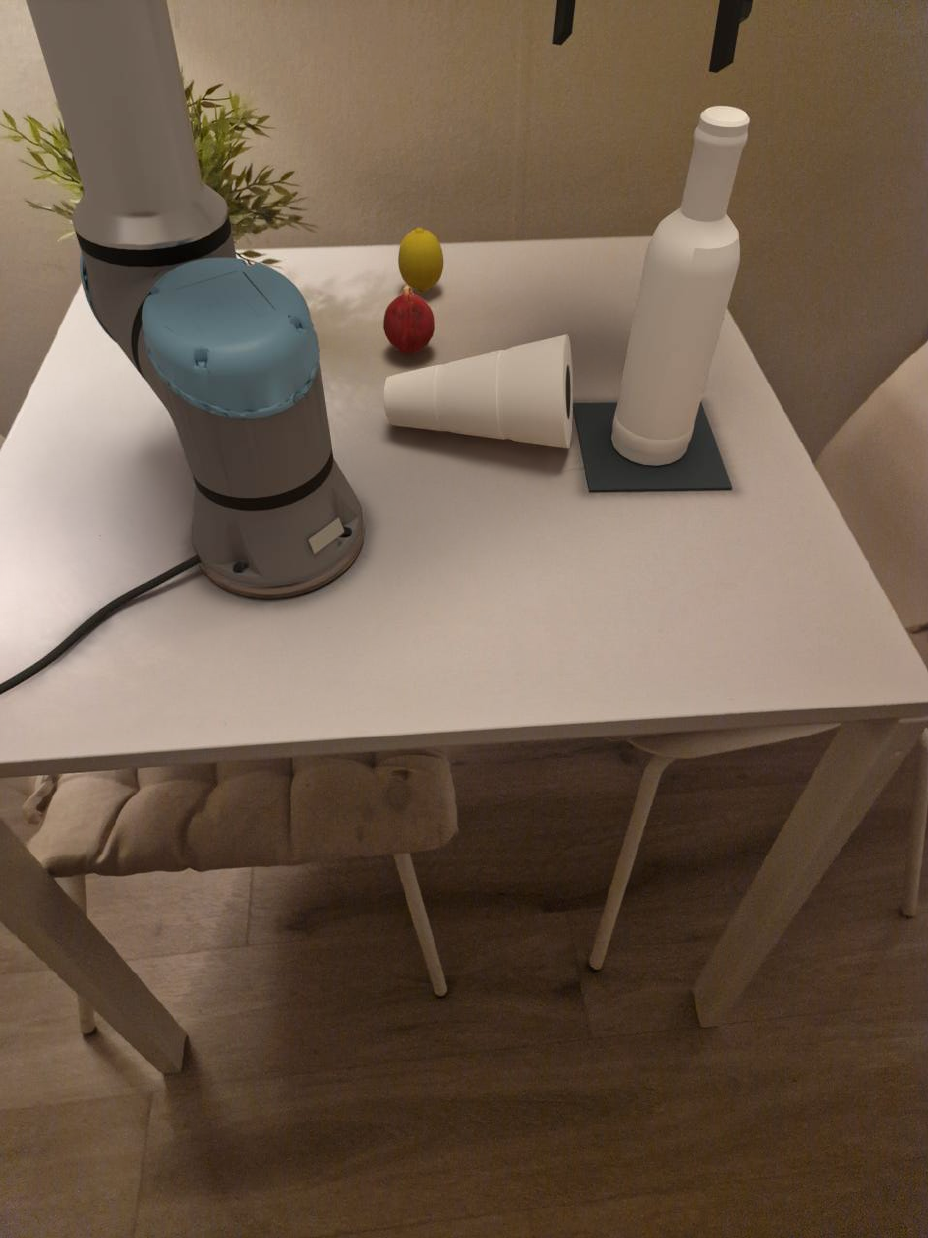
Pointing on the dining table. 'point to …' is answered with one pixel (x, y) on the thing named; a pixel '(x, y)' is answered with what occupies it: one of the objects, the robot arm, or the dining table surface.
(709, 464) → the mat
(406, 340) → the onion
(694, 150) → the bottle
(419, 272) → the lemon
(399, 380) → the cup
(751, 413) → the dining table surface
